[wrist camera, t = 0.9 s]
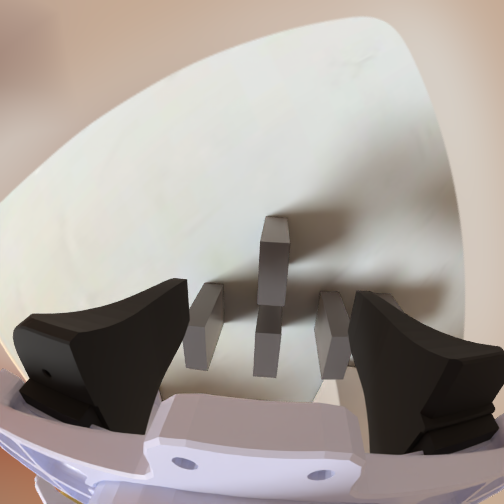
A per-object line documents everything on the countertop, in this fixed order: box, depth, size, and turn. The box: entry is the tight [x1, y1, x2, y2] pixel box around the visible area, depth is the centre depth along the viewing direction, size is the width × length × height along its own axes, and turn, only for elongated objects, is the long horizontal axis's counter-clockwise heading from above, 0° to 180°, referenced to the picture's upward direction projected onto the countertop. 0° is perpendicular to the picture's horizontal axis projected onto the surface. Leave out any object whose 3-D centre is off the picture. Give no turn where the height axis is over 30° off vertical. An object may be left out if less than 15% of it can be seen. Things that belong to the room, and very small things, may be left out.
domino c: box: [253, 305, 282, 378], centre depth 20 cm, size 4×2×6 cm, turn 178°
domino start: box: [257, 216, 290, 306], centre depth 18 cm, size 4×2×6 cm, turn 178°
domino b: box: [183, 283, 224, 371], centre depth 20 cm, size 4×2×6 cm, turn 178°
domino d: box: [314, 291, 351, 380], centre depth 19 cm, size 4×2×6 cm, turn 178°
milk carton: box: [313, 366, 370, 453], centre depth 16 cm, size 7×7×19 cm
